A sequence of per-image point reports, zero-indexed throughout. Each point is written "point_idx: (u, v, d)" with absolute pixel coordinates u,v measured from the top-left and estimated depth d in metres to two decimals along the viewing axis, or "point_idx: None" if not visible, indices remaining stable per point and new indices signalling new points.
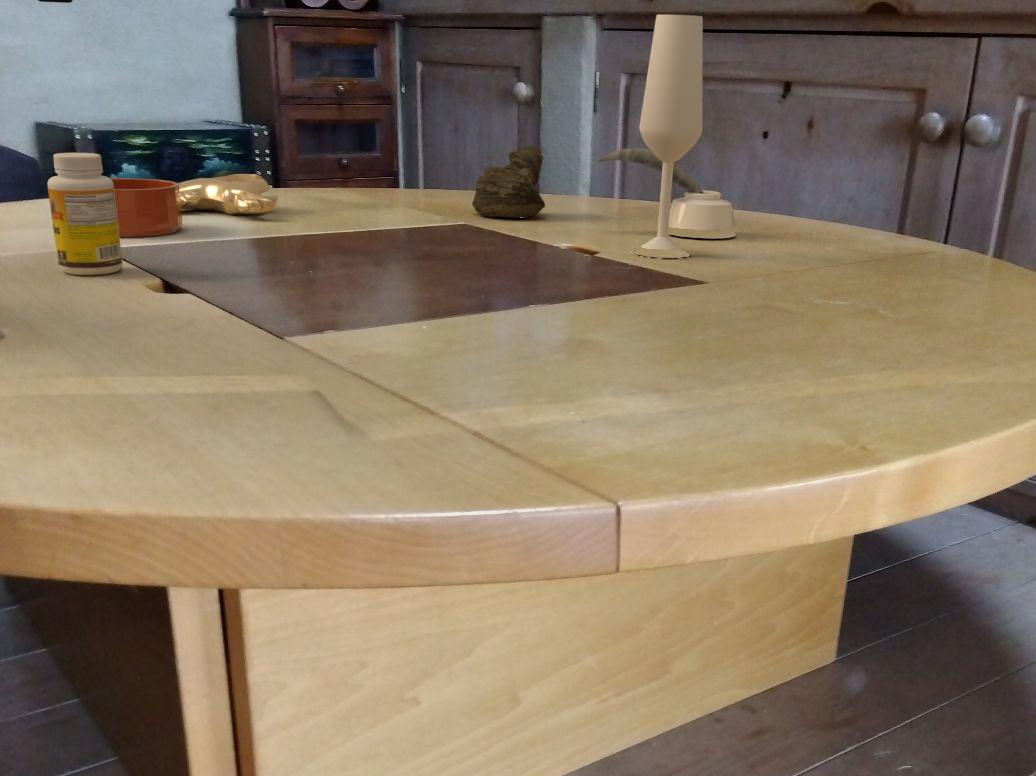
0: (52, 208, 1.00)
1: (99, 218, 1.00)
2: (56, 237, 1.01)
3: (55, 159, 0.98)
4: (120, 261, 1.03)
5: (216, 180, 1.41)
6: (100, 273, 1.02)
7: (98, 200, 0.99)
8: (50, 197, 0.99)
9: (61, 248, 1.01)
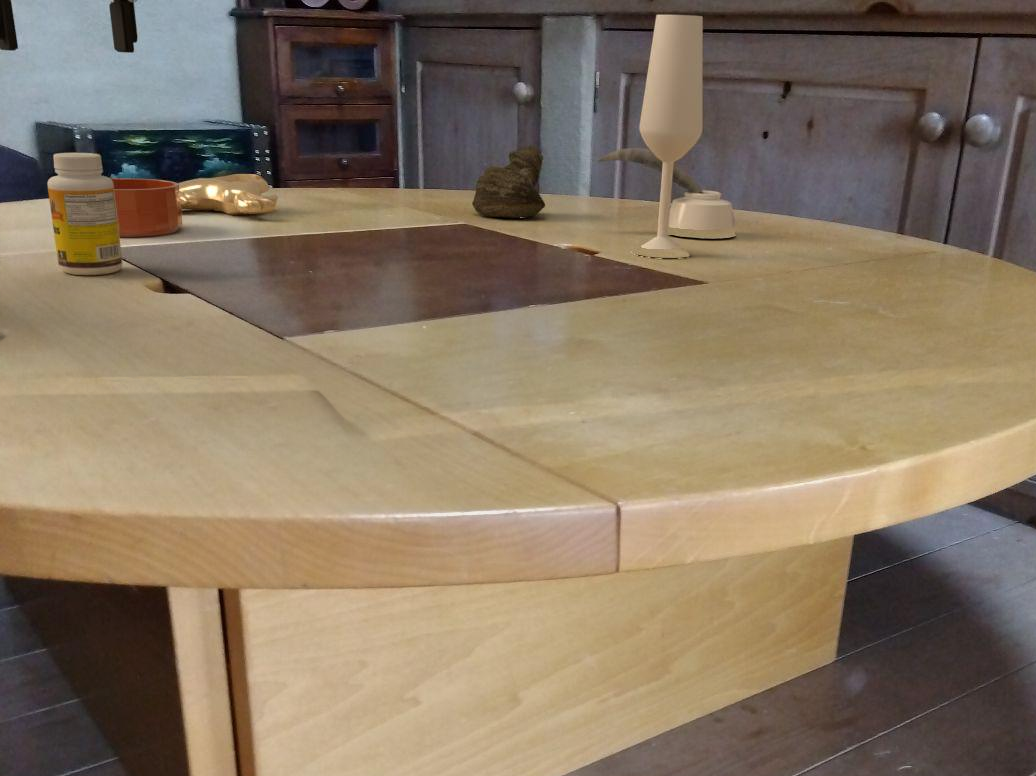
0: (52, 208, 1.00)
1: (99, 218, 1.00)
2: (56, 237, 1.01)
3: (55, 159, 0.98)
4: (120, 261, 1.03)
5: (216, 180, 1.41)
6: (100, 273, 1.02)
7: (98, 200, 0.99)
8: (50, 197, 0.99)
9: (61, 248, 1.01)
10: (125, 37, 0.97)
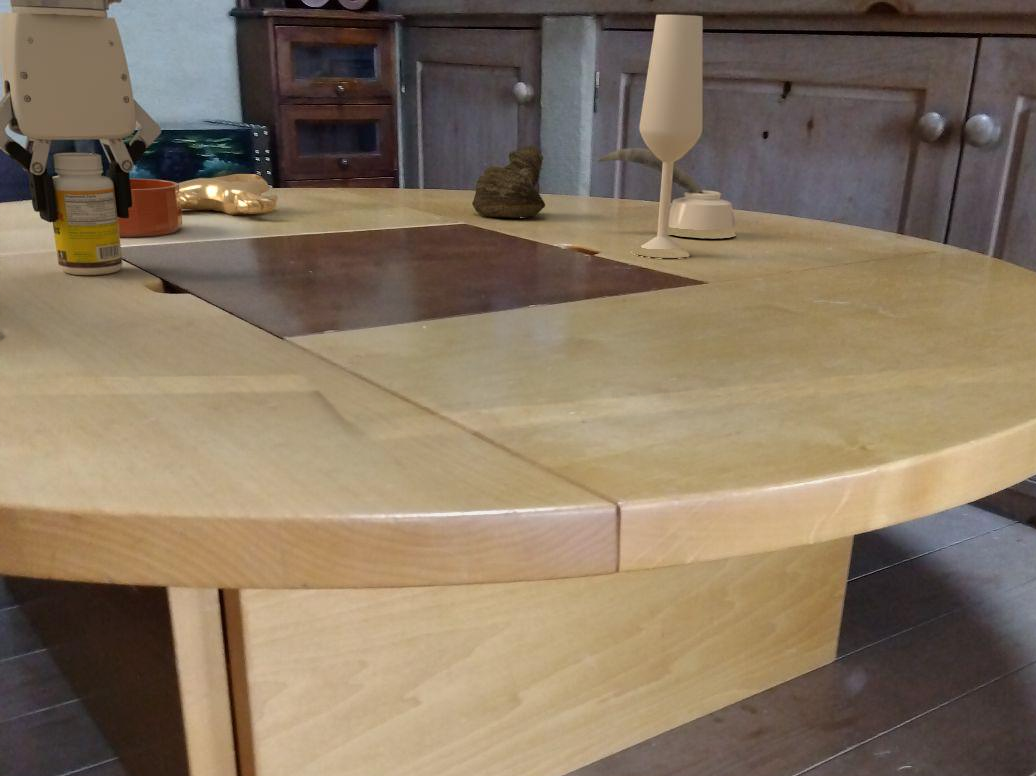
0: None
1: (99, 218, 1.00)
2: (56, 237, 1.01)
3: (55, 159, 0.98)
4: (120, 261, 1.03)
5: (216, 180, 1.41)
6: (100, 273, 1.02)
7: (98, 200, 0.99)
8: None
9: (61, 248, 1.01)
10: (120, 205, 1.02)
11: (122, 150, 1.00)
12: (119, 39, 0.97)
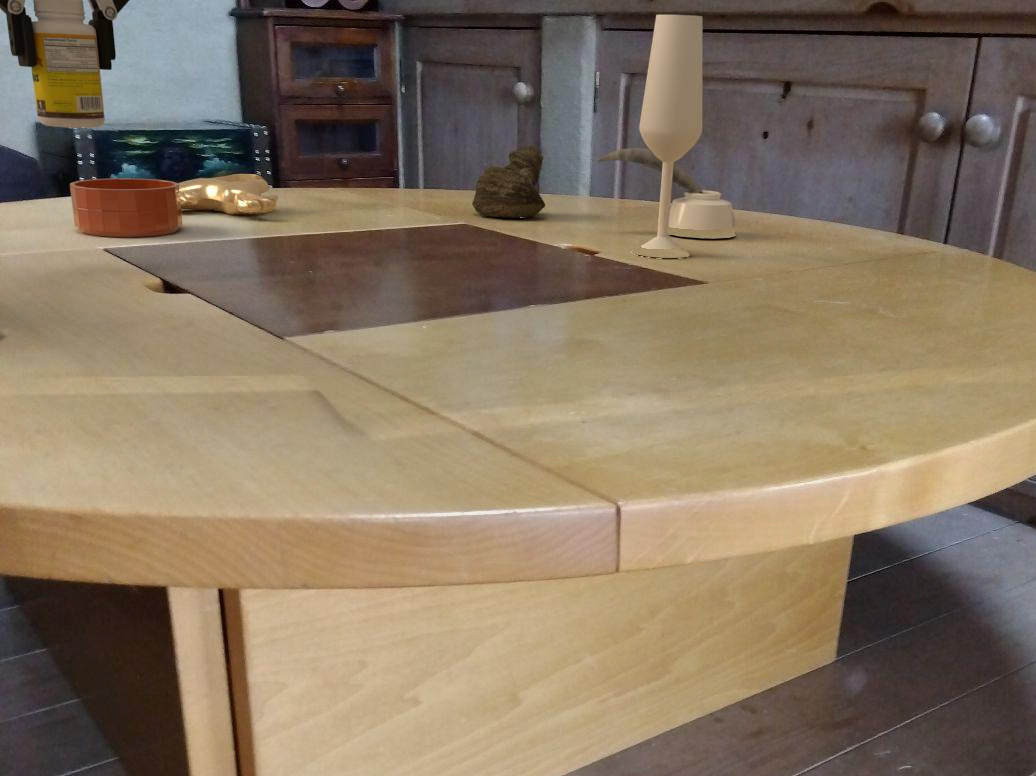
0: None
1: (80, 65, 0.96)
2: (35, 85, 0.96)
3: (35, 1, 0.94)
4: (102, 115, 0.99)
5: (216, 180, 1.41)
6: (81, 125, 0.98)
7: (79, 45, 0.95)
8: None
9: (40, 97, 0.96)
10: (103, 54, 0.98)
11: None
12: None
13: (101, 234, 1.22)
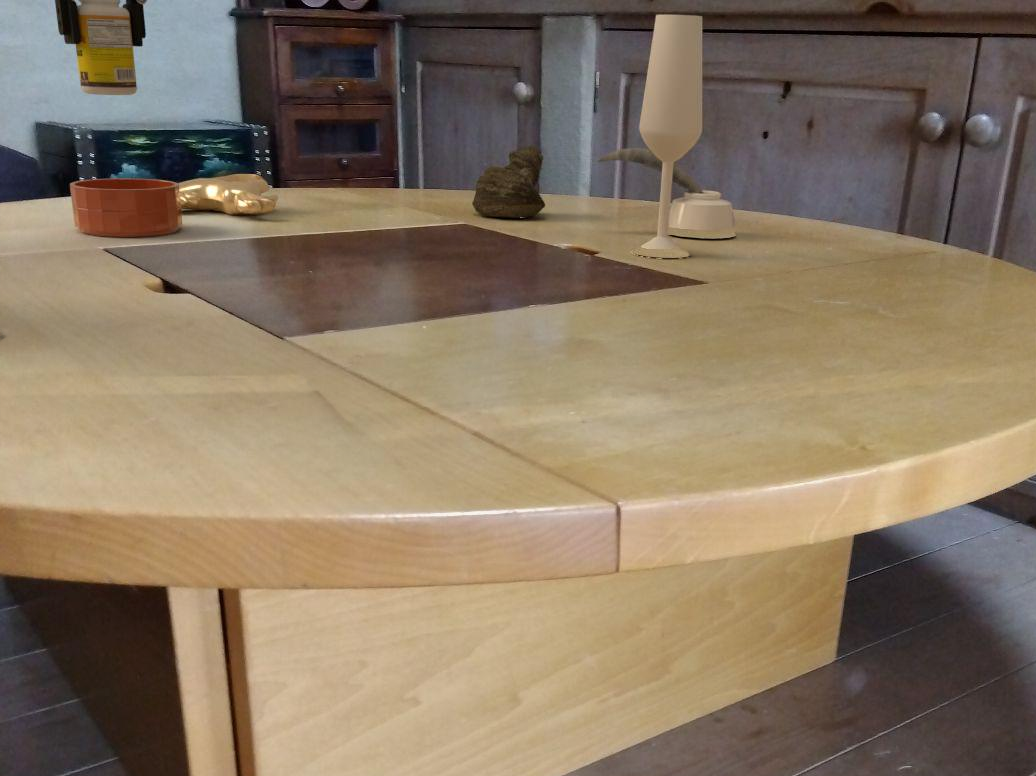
0: None
1: (117, 42, 1.14)
2: (79, 59, 1.14)
3: None
4: (135, 85, 1.17)
5: (216, 180, 1.41)
6: (117, 93, 1.16)
7: (116, 25, 1.13)
8: None
9: (83, 69, 1.14)
10: (135, 33, 1.16)
11: None
12: None
13: (101, 234, 1.22)
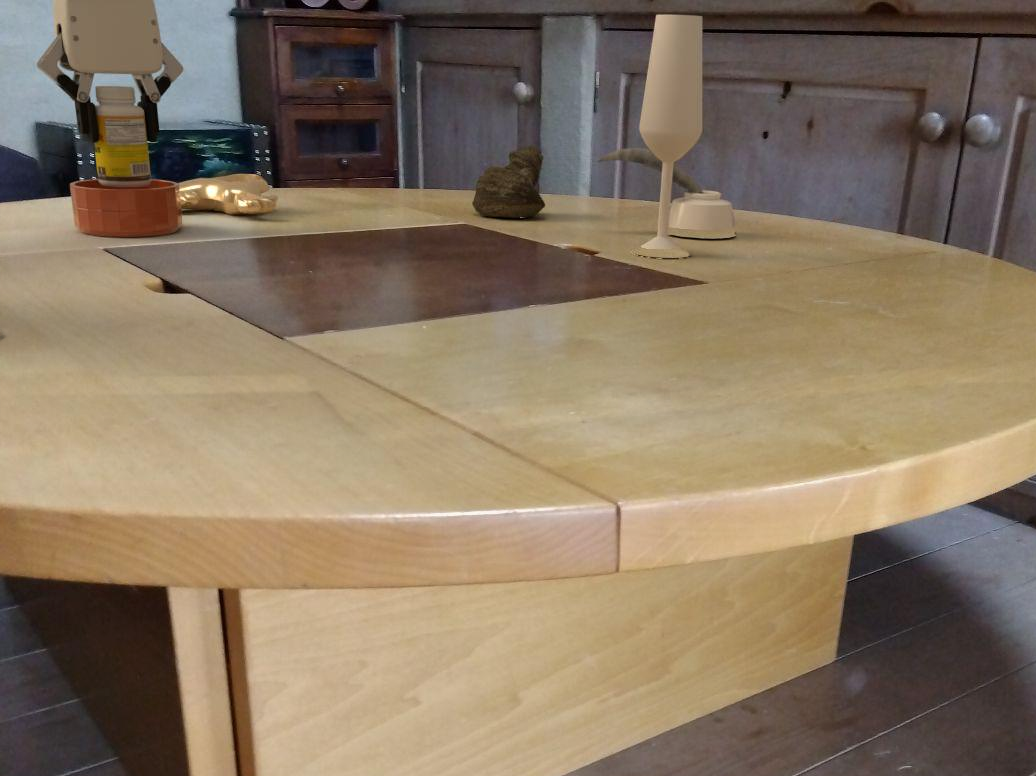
0: None
1: (133, 139, 1.21)
2: (97, 155, 1.22)
3: (97, 90, 1.20)
4: (149, 177, 1.24)
5: (216, 180, 1.41)
6: (133, 186, 1.23)
7: (132, 124, 1.20)
8: None
9: (101, 164, 1.22)
10: (150, 130, 1.23)
11: (151, 84, 1.22)
12: None
13: (101, 234, 1.22)
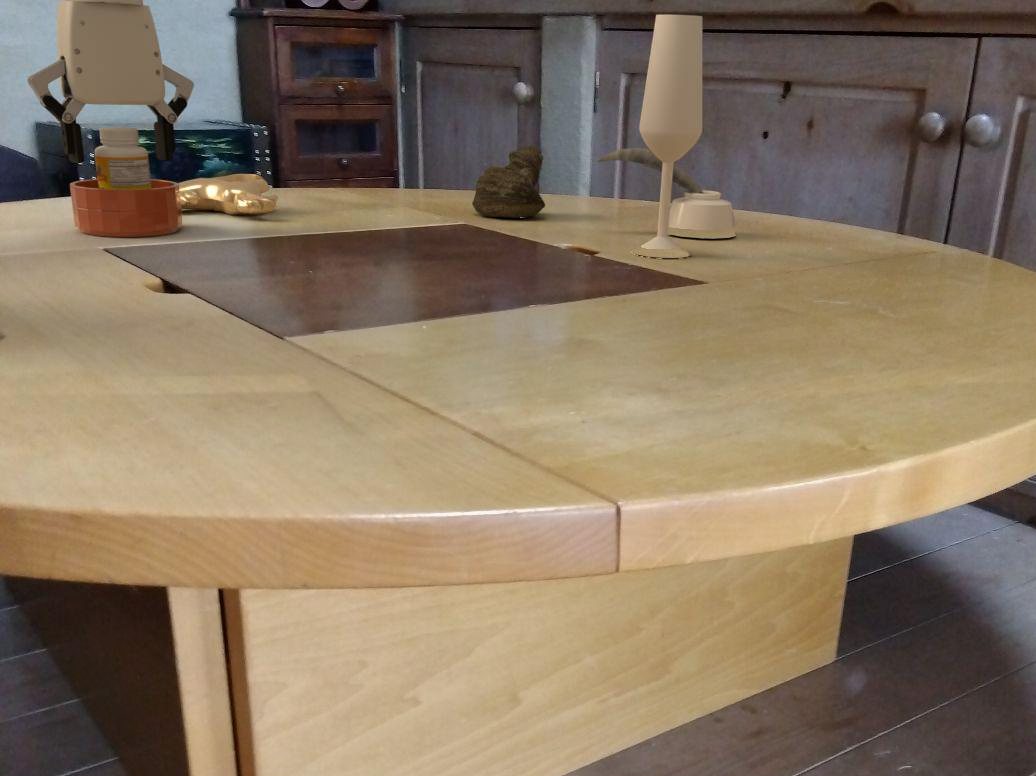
0: (98, 172, 1.22)
1: (136, 180, 1.23)
2: None
3: (101, 132, 1.21)
4: None
5: (216, 180, 1.41)
6: None
7: (136, 165, 1.22)
8: (96, 163, 1.22)
9: None
10: (166, 150, 1.25)
11: (168, 105, 1.23)
12: (152, 23, 1.19)
13: (101, 234, 1.22)
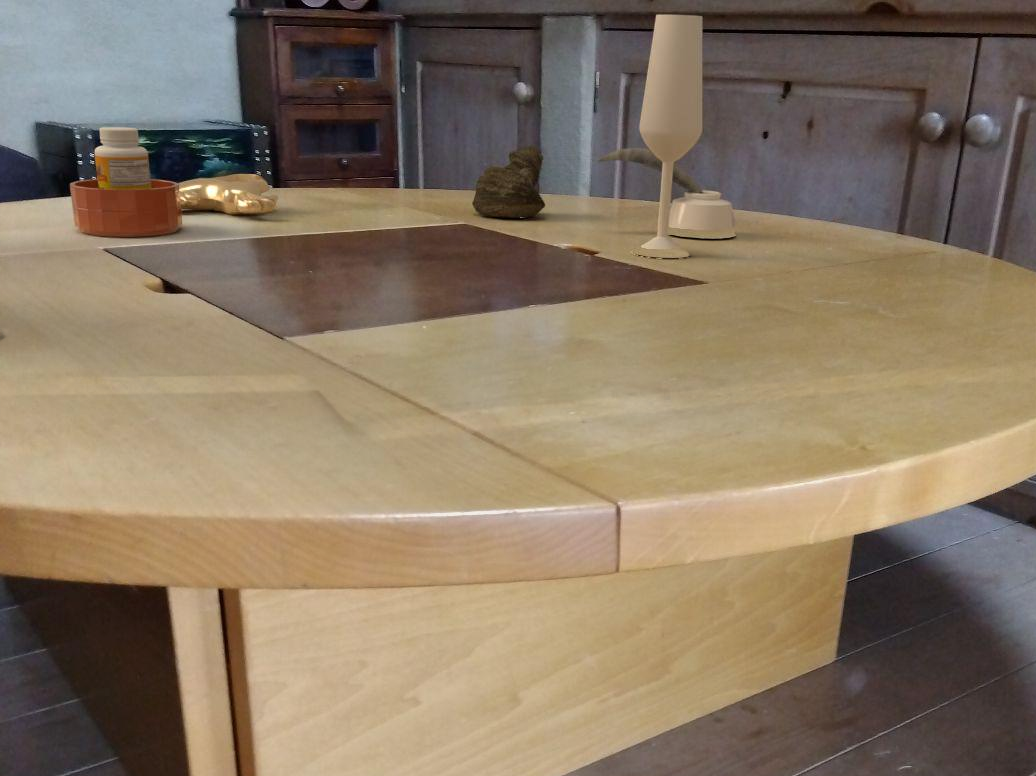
0: (98, 172, 1.22)
1: (136, 180, 1.23)
2: None
3: (101, 132, 1.21)
4: None
5: (216, 180, 1.41)
6: None
7: (136, 165, 1.22)
8: (96, 163, 1.22)
9: None
10: None
11: None
12: None
13: (101, 234, 1.22)
